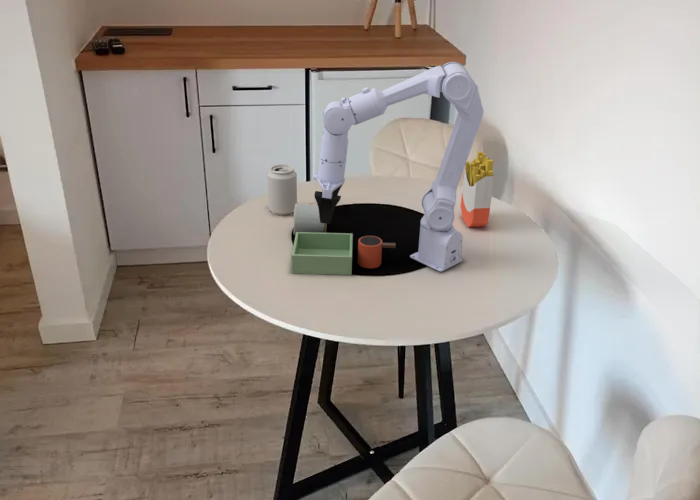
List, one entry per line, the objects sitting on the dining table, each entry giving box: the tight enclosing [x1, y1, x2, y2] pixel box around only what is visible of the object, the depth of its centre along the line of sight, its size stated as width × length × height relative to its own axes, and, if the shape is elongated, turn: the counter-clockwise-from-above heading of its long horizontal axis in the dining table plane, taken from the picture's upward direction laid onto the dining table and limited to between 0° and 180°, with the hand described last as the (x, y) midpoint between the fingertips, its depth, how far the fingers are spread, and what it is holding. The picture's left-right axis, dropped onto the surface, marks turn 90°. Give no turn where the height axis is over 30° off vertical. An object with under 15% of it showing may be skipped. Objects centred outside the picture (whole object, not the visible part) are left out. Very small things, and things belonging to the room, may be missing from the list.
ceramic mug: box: [293, 203, 328, 236], centre depth 167 cm, size 11×8×8 cm
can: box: [267, 164, 298, 216], centre depth 177 cm, size 8×8×12 cm
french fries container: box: [460, 150, 495, 228], centre depth 172 cm, size 5×11×18 cm, turn 7°
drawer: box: [291, 232, 354, 276], centre depth 154 cm, size 13×12×4 cm
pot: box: [357, 235, 397, 269], centre depth 154 cm, size 8×5×6 cm, turn 89°
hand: (326, 215), depth 152 cm, fingers open, 7 cm apart
